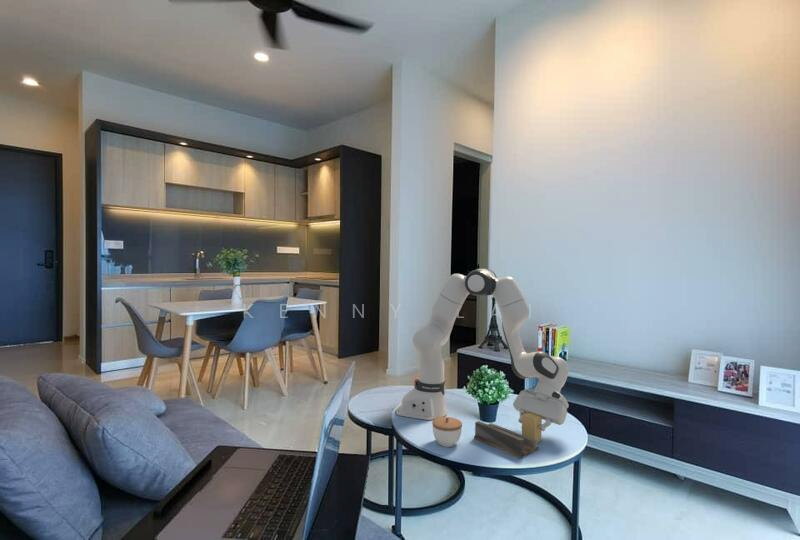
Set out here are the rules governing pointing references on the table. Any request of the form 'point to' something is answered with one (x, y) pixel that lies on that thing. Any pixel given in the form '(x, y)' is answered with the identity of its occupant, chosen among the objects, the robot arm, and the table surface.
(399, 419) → the table surface
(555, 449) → the table surface
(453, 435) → the lidded jar
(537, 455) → the table surface
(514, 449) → the base
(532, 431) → the ochre block
